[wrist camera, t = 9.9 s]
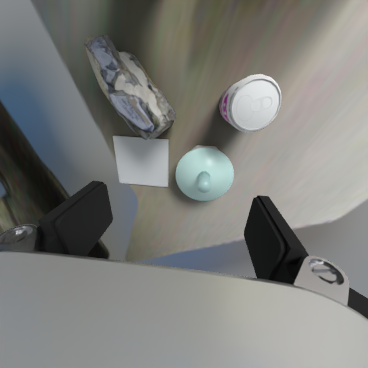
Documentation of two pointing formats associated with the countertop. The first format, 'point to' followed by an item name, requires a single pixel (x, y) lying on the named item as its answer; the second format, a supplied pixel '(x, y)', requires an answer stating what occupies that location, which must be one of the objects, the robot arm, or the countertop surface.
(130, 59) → the fossil rock
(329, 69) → the countertop surface
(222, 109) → the supplement can
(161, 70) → the countertop surface
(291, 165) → the countertop surface
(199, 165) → the lid
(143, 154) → the mat
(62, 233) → the robot arm
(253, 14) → the countertop surface
